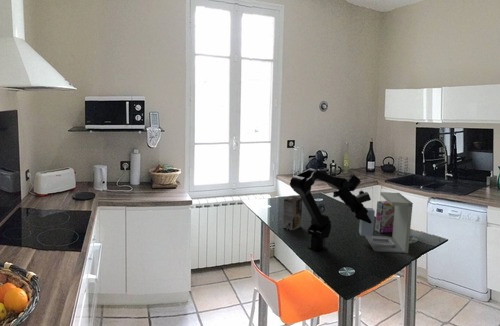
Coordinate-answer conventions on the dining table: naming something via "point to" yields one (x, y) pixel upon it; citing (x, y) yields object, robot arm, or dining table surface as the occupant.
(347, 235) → the dining table surface
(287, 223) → the coffee box
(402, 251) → the white open shelf
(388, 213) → the candy bar box
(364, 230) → the tall gray box
